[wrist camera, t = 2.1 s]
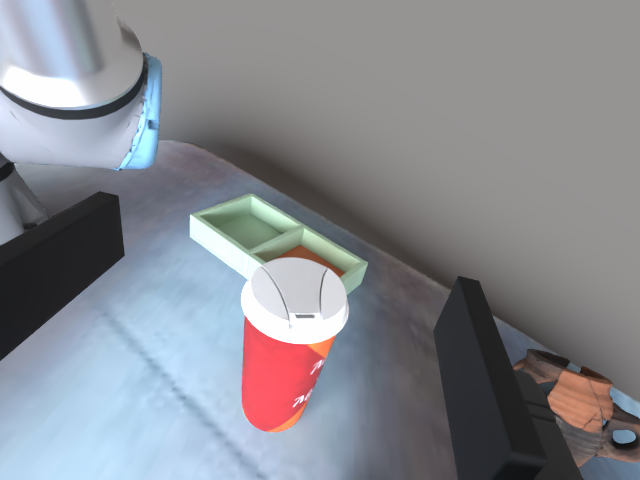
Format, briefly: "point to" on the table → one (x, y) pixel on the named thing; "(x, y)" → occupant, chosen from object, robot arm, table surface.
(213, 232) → the holder
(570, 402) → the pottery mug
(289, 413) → the paper cup
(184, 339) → the table surface
